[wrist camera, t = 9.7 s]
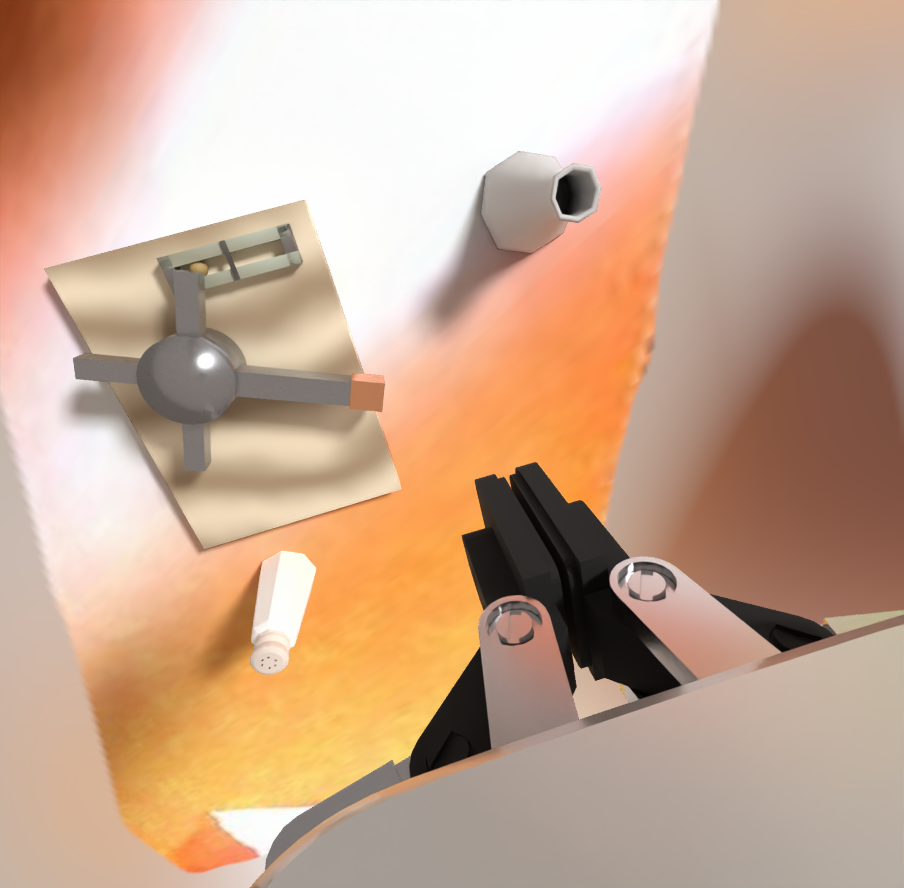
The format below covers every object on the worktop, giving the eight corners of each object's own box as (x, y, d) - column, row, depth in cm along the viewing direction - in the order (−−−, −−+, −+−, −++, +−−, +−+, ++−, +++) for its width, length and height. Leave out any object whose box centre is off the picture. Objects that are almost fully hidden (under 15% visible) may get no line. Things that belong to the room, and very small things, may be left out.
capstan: (110, 445, 38) (81, 470, 34) (88, 254, 33) (50, 256, 29) (373, 462, 42) (375, 485, 38) (389, 294, 37) (393, 301, 33)
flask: (488, 263, 39) (526, 270, 30) (471, 161, 36) (508, 136, 27) (573, 242, 40) (636, 244, 31) (563, 141, 37) (630, 109, 28)
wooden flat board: (57, 267, 34) (30, 270, 31) (306, 201, 35) (302, 198, 33) (209, 539, 44) (199, 558, 41) (400, 481, 45) (402, 496, 42)
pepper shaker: (247, 580, 47) (216, 673, 37) (278, 539, 45) (255, 624, 35) (297, 603, 49) (280, 698, 39) (328, 565, 47) (319, 652, 37)
